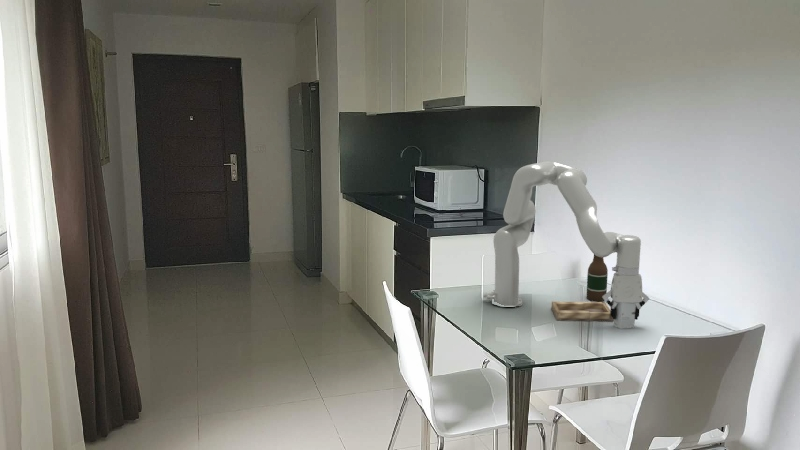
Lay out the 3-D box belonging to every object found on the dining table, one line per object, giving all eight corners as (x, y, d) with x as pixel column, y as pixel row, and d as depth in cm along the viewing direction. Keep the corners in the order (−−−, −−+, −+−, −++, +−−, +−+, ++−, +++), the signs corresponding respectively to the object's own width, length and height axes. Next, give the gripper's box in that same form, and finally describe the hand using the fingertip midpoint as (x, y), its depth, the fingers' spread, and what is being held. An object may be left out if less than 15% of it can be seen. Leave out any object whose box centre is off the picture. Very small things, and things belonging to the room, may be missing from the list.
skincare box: (619, 329, 210) (622, 296, 208) (612, 324, 214) (614, 292, 212) (635, 327, 211) (637, 295, 209) (627, 323, 216) (629, 291, 213)
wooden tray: (556, 320, 220) (557, 312, 219) (551, 308, 232) (551, 301, 232) (614, 321, 218) (615, 313, 217) (606, 309, 230) (606, 302, 230)
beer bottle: (607, 302, 238) (610, 244, 233) (587, 301, 240) (590, 244, 235) (604, 296, 245) (608, 240, 241) (585, 295, 247) (588, 239, 242)
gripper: (604, 273, 206) (602, 321, 210) (656, 273, 204) (652, 322, 208) (599, 267, 213) (597, 314, 217) (649, 267, 212) (646, 314, 215)
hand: (624, 317), depth 212 cm, fingers closed on skincare box, 6 cm apart
